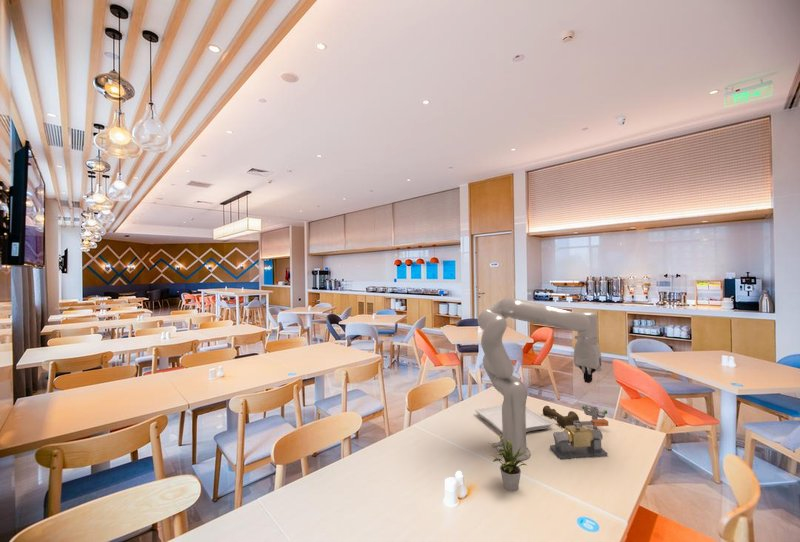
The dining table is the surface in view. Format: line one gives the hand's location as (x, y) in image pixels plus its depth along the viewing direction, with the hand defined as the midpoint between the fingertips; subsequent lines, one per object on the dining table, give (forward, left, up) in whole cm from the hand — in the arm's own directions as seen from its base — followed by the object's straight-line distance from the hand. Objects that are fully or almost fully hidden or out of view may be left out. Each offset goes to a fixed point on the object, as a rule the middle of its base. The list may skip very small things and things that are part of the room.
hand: (588, 382), depth 148 cm
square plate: (-25, +24, -28) cm, 44 cm away
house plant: (-46, -23, -27) cm, 58 cm away
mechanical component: (+11, +13, -27) cm, 32 cm away
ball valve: (-9, -6, -27) cm, 29 cm away
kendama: (-1, +22, -28) cm, 35 cm away
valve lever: (-3, -6, -16) cm, 17 cm away
